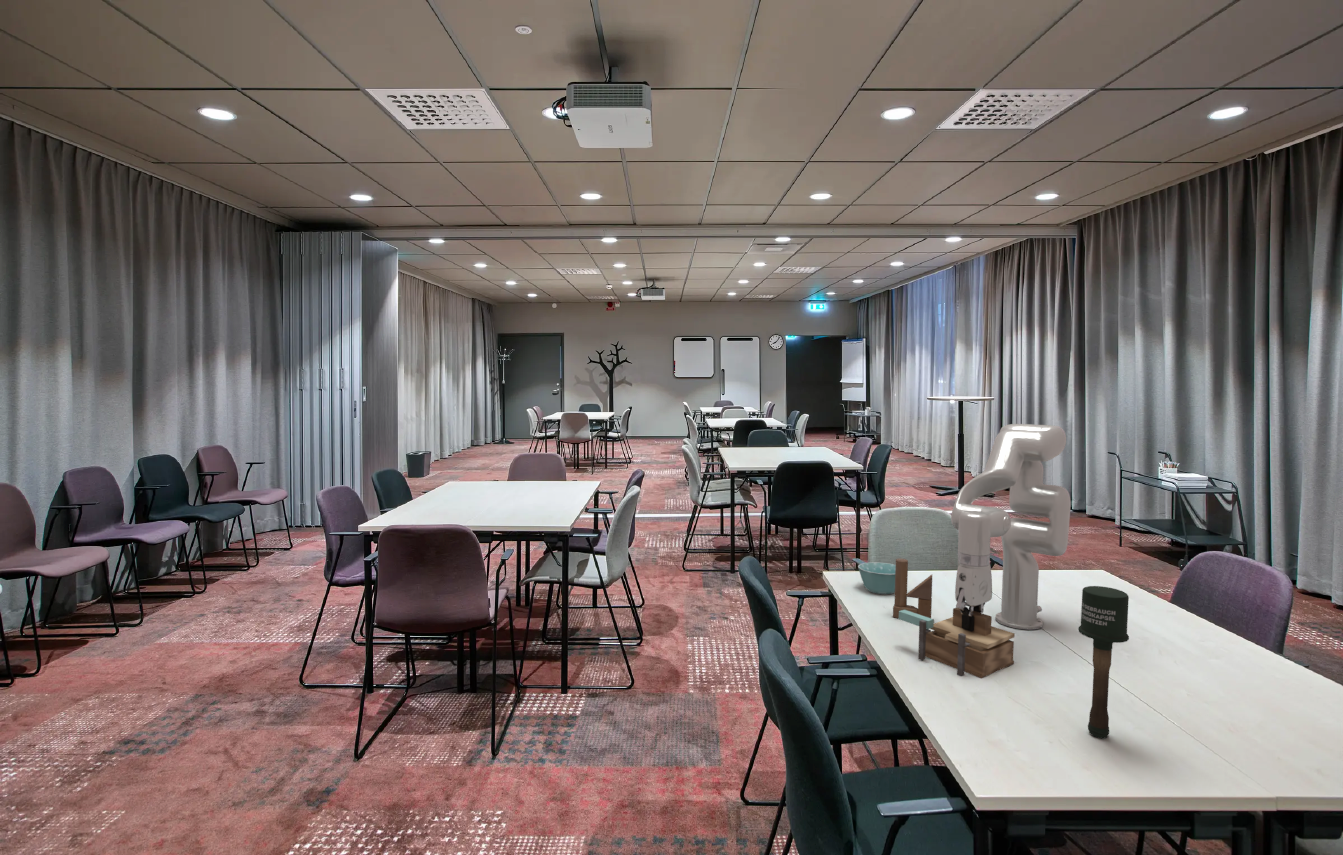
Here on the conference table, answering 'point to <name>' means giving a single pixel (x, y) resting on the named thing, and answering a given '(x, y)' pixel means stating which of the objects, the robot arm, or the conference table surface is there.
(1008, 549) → the robot arm
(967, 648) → the wooden box
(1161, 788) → the conference table surface
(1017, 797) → the conference table surface
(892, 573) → the bowl
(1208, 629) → the conference table surface
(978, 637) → the lid
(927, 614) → the brown wooden block structure
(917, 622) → the teal rectangular bar
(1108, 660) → the stick grenade
